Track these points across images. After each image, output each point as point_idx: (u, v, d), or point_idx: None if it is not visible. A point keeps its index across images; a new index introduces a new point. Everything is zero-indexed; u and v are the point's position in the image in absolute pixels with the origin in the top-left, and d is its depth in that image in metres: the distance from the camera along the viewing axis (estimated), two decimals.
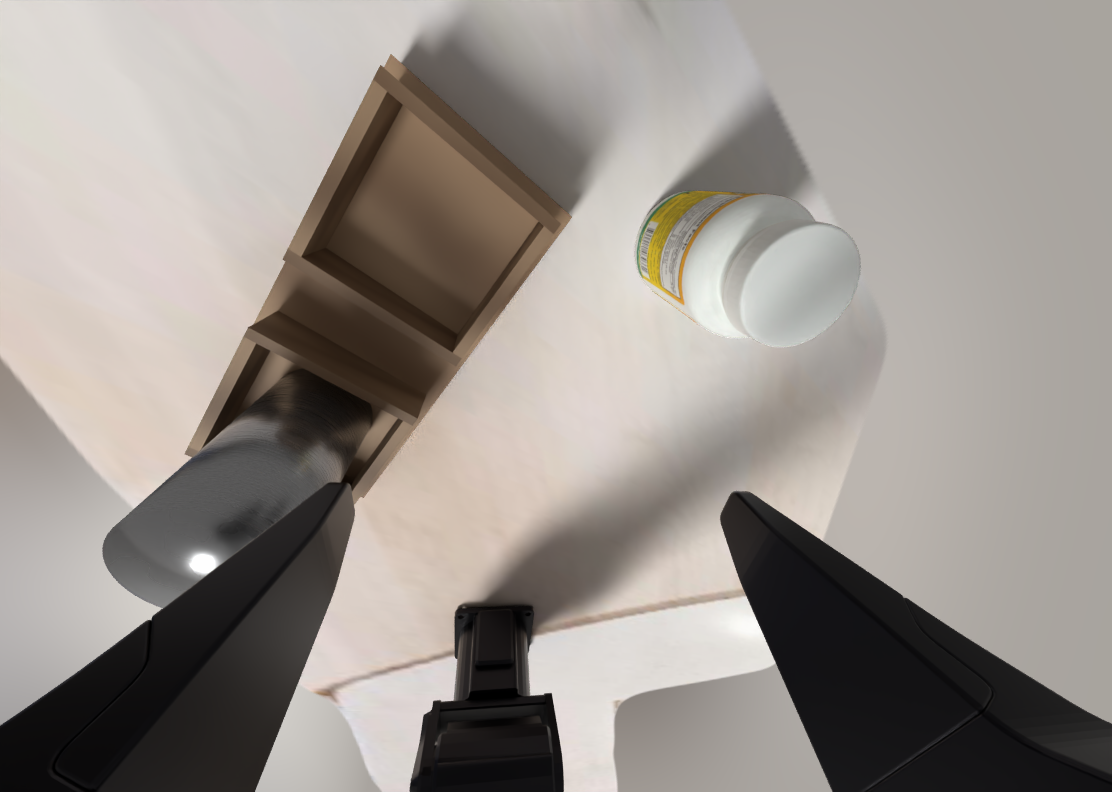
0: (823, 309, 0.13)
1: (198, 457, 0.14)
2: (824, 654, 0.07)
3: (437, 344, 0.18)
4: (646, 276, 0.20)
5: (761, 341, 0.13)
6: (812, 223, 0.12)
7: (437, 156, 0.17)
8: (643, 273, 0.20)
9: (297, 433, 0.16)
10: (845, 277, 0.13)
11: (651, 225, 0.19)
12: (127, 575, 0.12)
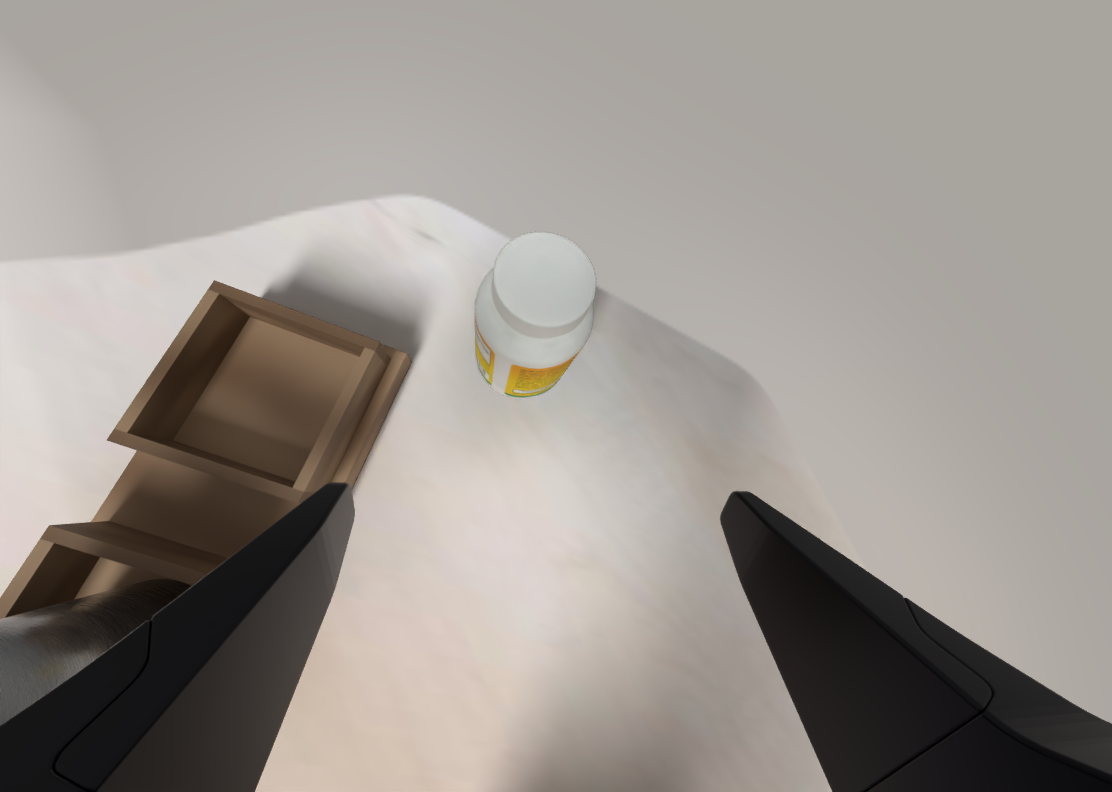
0: (576, 286, 0.15)
1: None
2: (824, 654, 0.07)
3: (274, 483, 0.17)
4: (488, 377, 0.21)
5: (539, 324, 0.15)
6: (524, 234, 0.15)
7: (280, 342, 0.20)
8: (487, 377, 0.22)
9: (52, 619, 0.12)
10: (576, 260, 0.15)
11: None
12: None
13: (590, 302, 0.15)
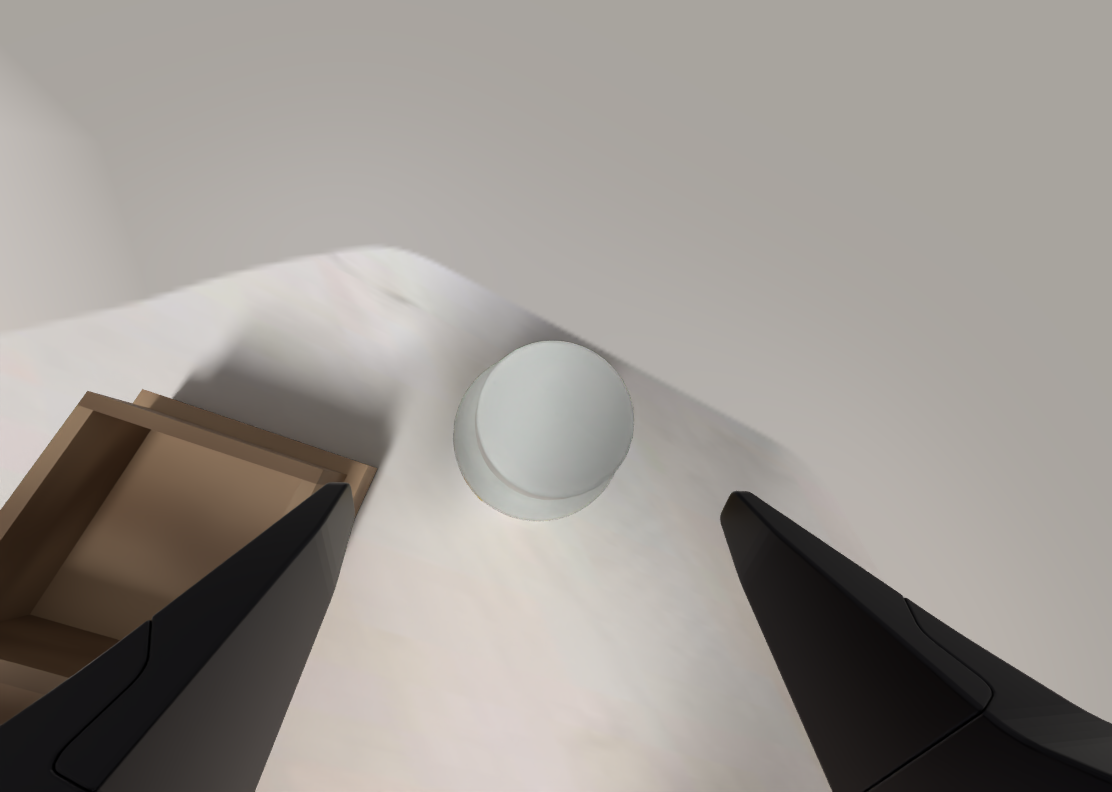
0: (605, 426, 0.10)
1: None
2: (824, 654, 0.07)
3: None
4: (476, 495, 0.16)
5: (549, 494, 0.09)
6: (523, 346, 0.10)
7: (195, 458, 0.15)
8: (475, 494, 0.16)
9: None
10: (603, 383, 0.10)
11: None
12: None
13: (626, 451, 0.10)
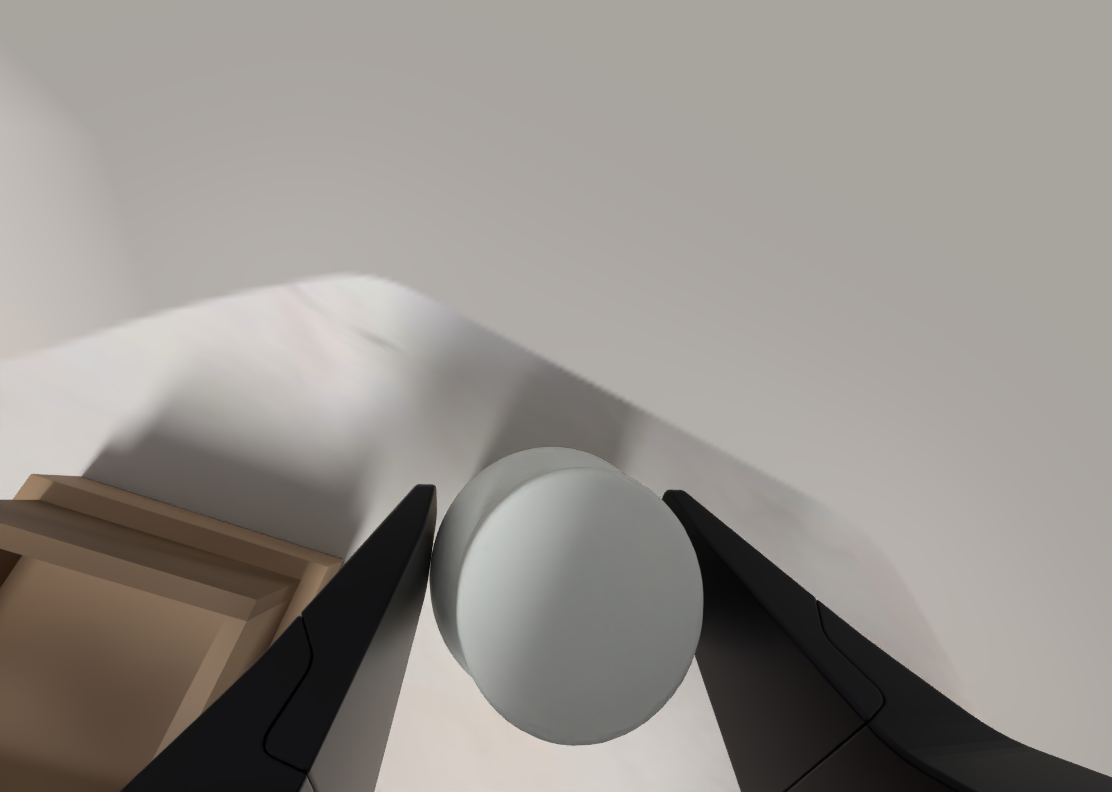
0: (660, 610, 0.06)
1: None
2: (737, 659, 0.07)
3: None
4: None
5: (575, 743, 0.06)
6: (532, 478, 0.07)
7: None
8: None
9: None
10: (656, 536, 0.07)
11: None
12: None
13: (694, 650, 0.06)
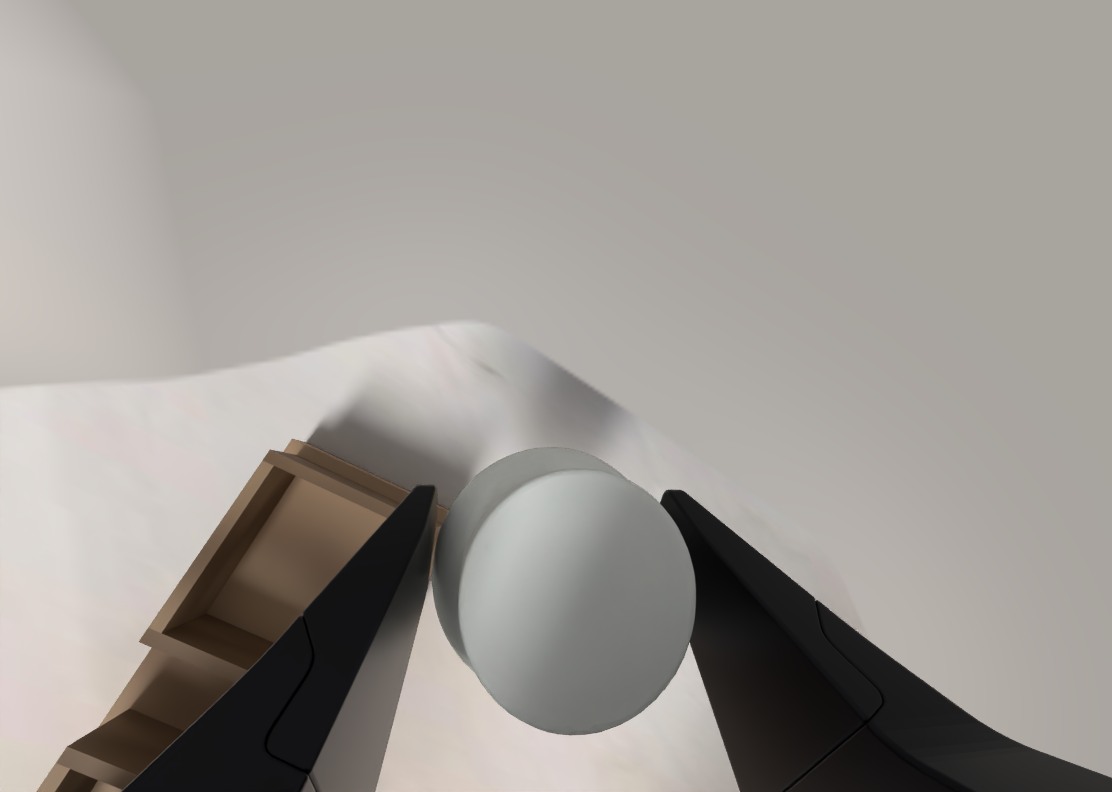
0: (654, 606, 0.07)
1: None
2: (736, 659, 0.07)
3: None
4: None
5: (572, 732, 0.06)
6: (530, 480, 0.07)
7: (329, 499, 0.19)
8: None
9: None
10: (650, 535, 0.07)
11: None
12: None
13: (686, 644, 0.07)
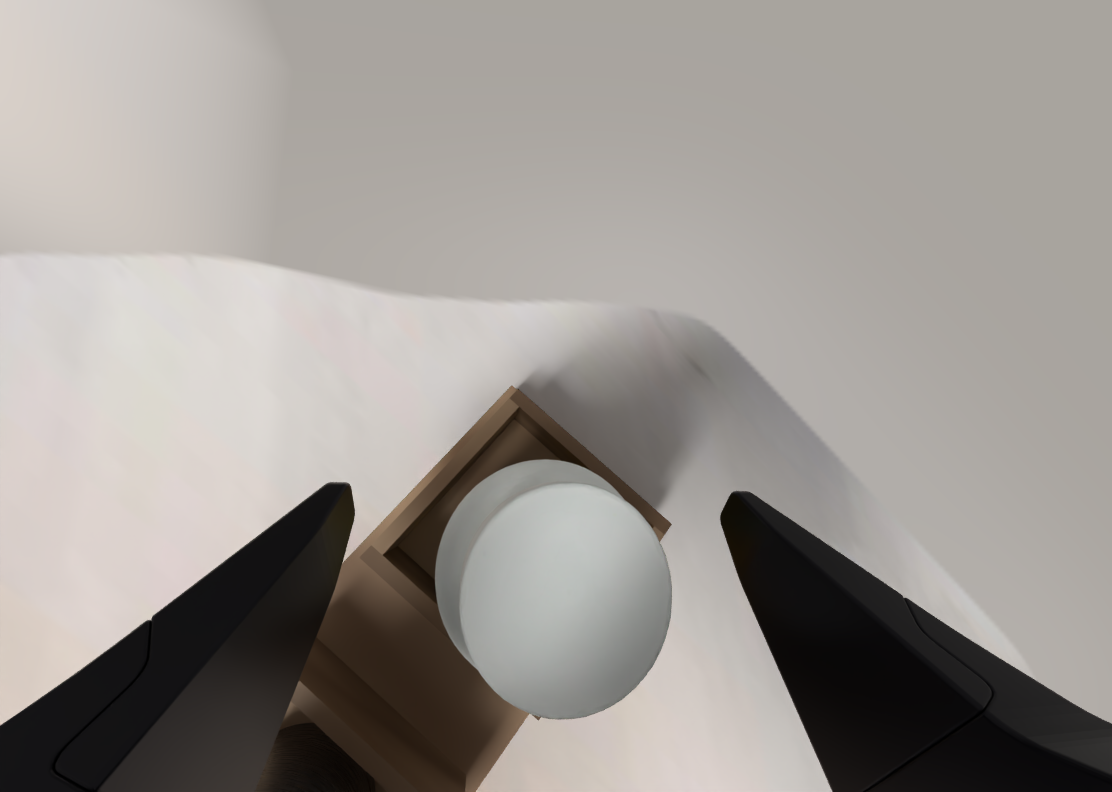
0: (634, 605, 0.07)
1: None
2: (824, 654, 0.07)
3: None
4: None
5: (561, 717, 0.07)
6: (523, 493, 0.08)
7: None
8: None
9: None
10: (631, 542, 0.08)
11: None
12: None
13: (663, 639, 0.07)
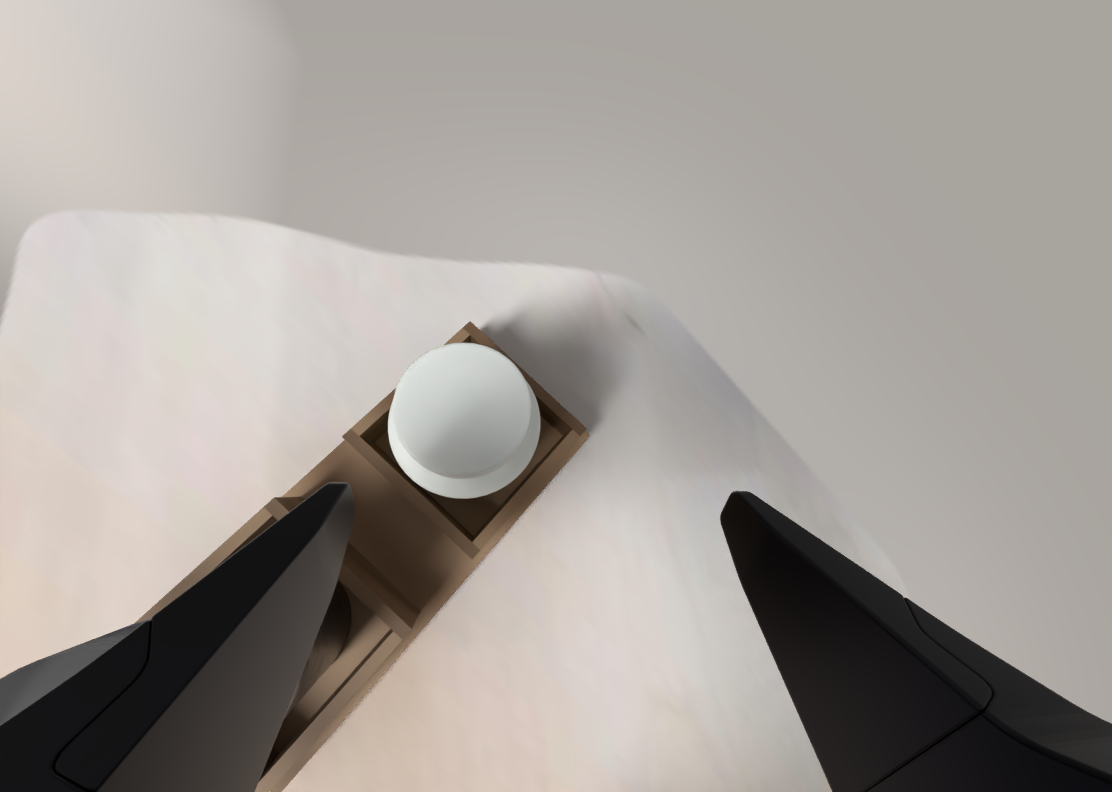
0: (504, 417, 0.12)
1: None
2: (824, 654, 0.07)
3: (459, 531, 0.17)
4: None
5: (451, 473, 0.11)
6: (438, 347, 0.12)
7: None
8: None
9: None
10: (506, 380, 0.12)
11: None
12: None
13: (522, 438, 0.12)
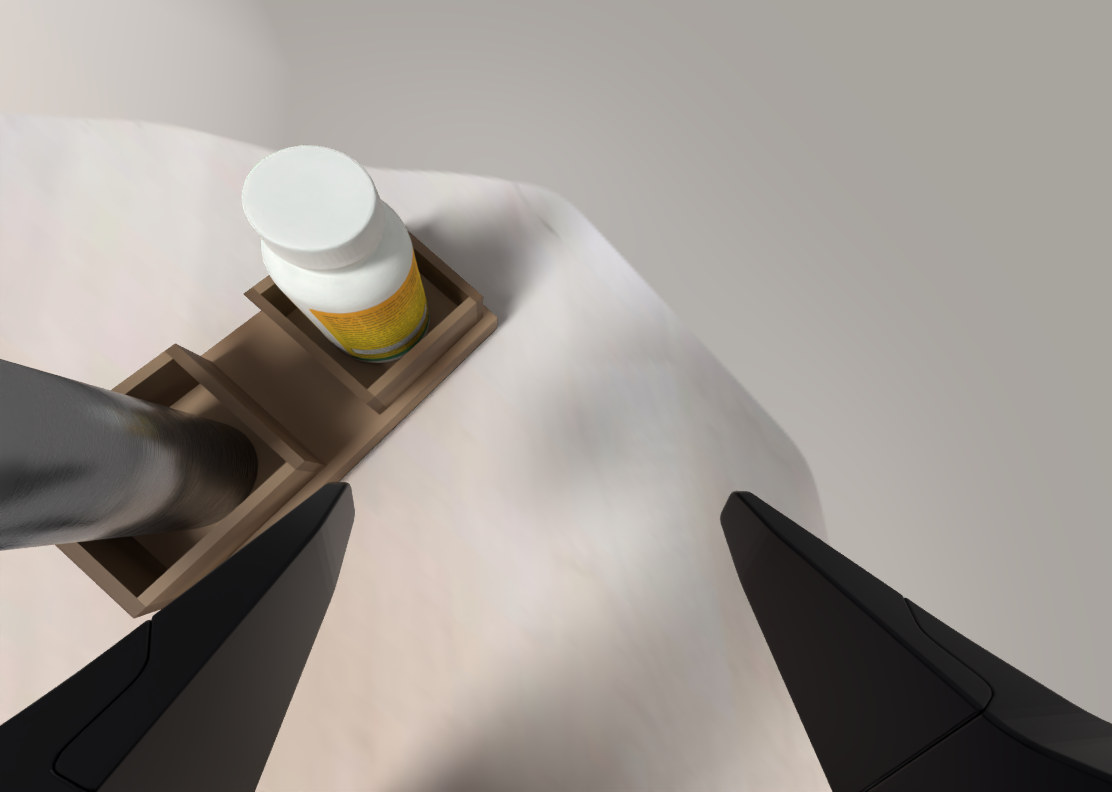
0: (349, 206, 0.13)
1: None
2: (824, 654, 0.07)
3: (354, 379, 0.18)
4: (325, 336, 0.19)
5: (294, 247, 0.12)
6: (290, 148, 0.13)
7: None
8: (326, 337, 0.20)
9: (157, 410, 0.14)
10: (353, 177, 0.13)
11: None
12: None
13: (365, 224, 0.13)
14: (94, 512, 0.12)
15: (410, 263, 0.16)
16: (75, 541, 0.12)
